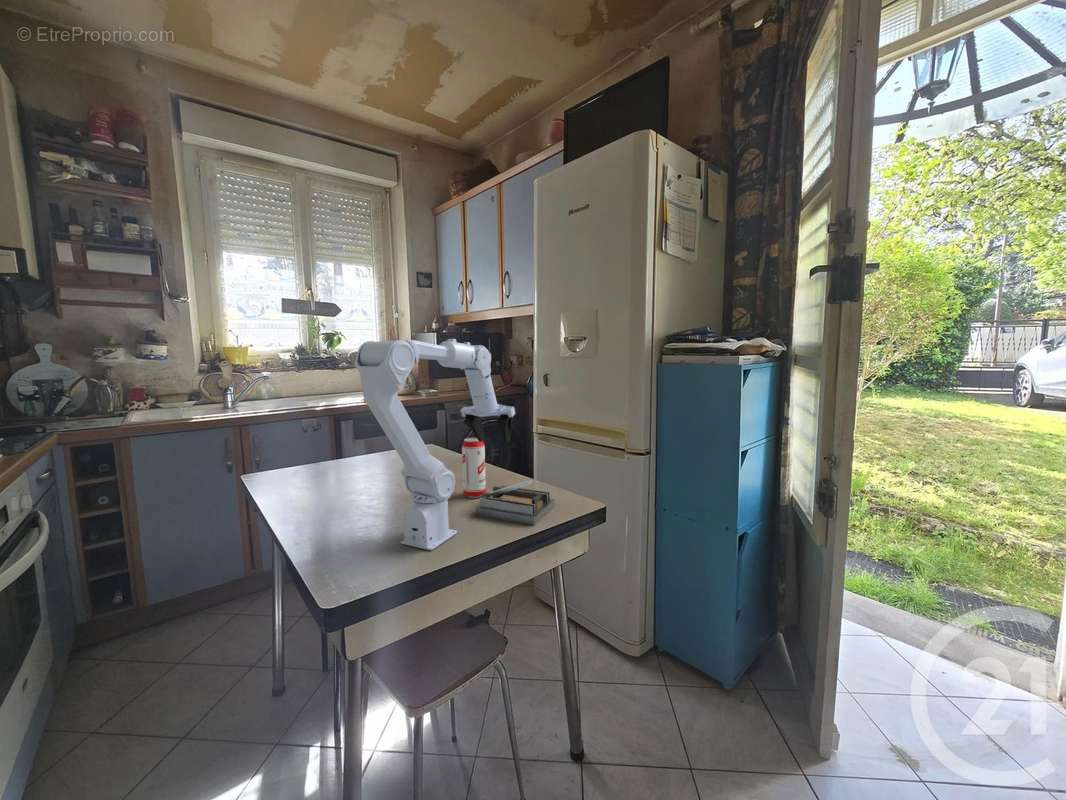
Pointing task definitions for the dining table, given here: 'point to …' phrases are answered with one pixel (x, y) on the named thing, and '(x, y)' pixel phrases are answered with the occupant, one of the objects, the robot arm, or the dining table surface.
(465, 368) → the robot arm
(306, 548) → the dining table surface
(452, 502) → the dining table surface
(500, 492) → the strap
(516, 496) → the heatsink block
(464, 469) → the beer can
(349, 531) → the dining table surface
